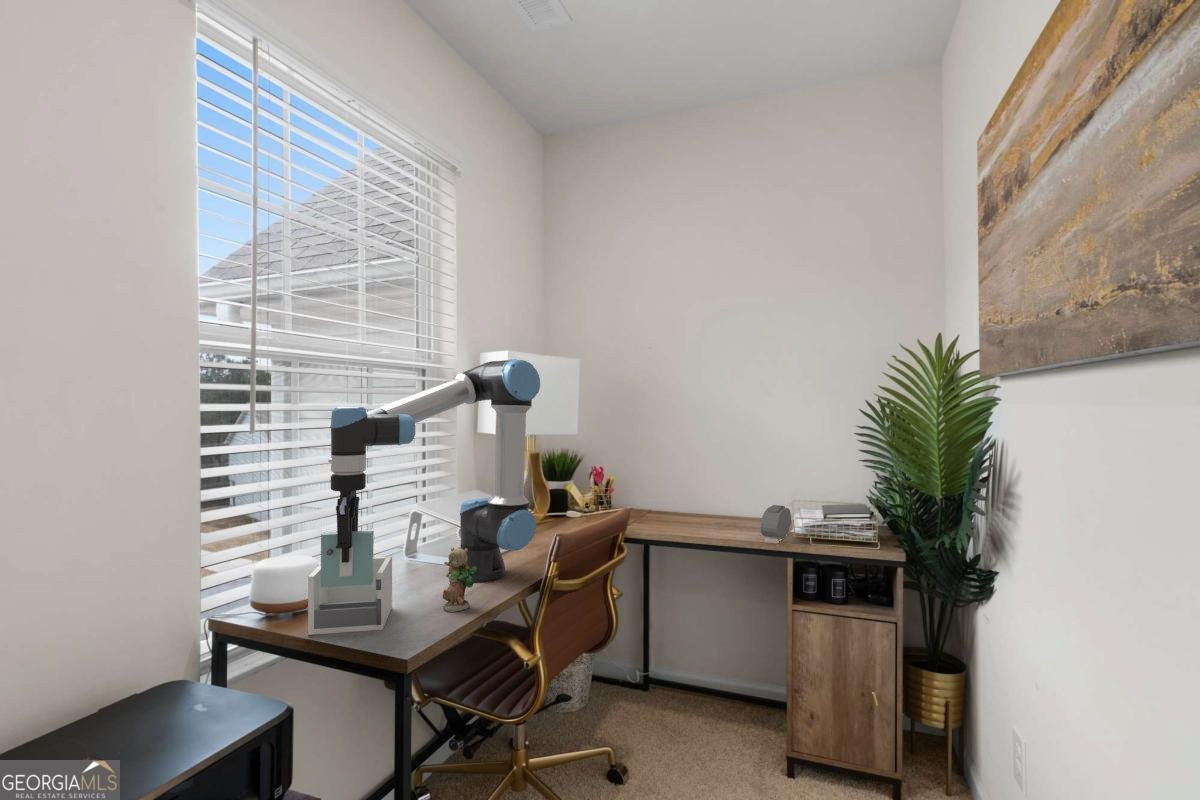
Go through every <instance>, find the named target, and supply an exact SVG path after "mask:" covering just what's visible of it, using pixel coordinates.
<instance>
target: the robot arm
mask: <svg viewBox="0 0 1200 800" xmlns="http://www.w3.org/2000/svg"><path fill="white" fill-rule="evenodd" d="M540 388H541V378H540V374H539V372H538V370H537V369H536V368H535V367H534V365H533V364H532V363H531V362H529V361H527V360H524V359H512V358H511V359H506V360H490V361H487V362H484V363H482V364H480V365H477V366H475V367H472V368H470V369H468V370H465V371H463V372H460V373H459V374H457V375H456V376H455V378H454V379H452V380H449V381H447V382H444V383H441V384H439V385H436V386H432V387H431V388H427V389H425V390H422V391H420V392H417V393H415V394H412V395H410V396H407V397H404V398H401V399H399V400H396V401H393V402H391V403H388V404H386V405H383V406H381V407H379V408H375V409H371V410H370V411H367V409H366V407H364V406H336V407H334V408H333V409H332V411H331V415H330V416H331V417H330V450H331V451H330V458H328V463H330V472H331V473H332V474H331V475H330V490H331V491H333V492H339V493H340V494H339V498H337V503H336V504H337V505H335V506H336V507H335V512H336V530H337V531H336V532H337V546H336V549H337V548H340V576H352V575H353V547H351V546H352V531H359V509H360V508H359V506H360V505H359V503H360V497H359V496H357V492H358V491H363V490H364V489H366V486H367V485H366V478H367V477H366V473H365V471H366V470H367V451H366V450H367V447H375V446H376V447H377V446H379V447H381V446H401V445H408V444H410V443H412V442H413V441H414V439H415V436H416V423H419V422H422V421H424V420H427V419H430V418H432V417H434V416H437V415H439V414H441V413H444V412H446V411H449V410H451V409H453V408H456V407H458V406H461V405H464V404H466V405H473V404H475V403H477V402H482V401H490V407H492V409H493V410H494V411H495V440H494V441H495V442H494V444H495V445H494V469H493V471H494V472H493V495H492V496H491V497H486V498H485V497H483V498H474V499H473V498H472V499H467V500H464V501H463V502H461V504H460V512H459V516H460V548H462V549H463V550H465V548H466V549H468V551H467V556H468V560H467V564H468V567H469V569H471V568H472V567H477V568H478V570H477V573H475V574H474V575H473V576H472V578H473V582H474V583H478V582H479V583H481V582H488V581H489V582H490V581H494V580H497V579H500V578H502V577H504V576H505V574H506V564H505V561H504V558H503V556H502V552H501V549H502V550H505V551H514V552H515V551H520V550H522V549H524V548H525V547H527V545H529V543H530V542H531V541H532V539H533V538H534V536H535V534H536V531H537V530H536V529H537V522H536V518H535V516H534V515H533V513H532V512H531V511H529V508H530V507H529V505H530V503H529V502H530V501H529V500H528V498H526V497H525V494H524V492H525V466H526V465H525V457H526V427H527V426H526V423H527V412H528V411H529V410H530V409H531V408H532V405H533V403H532V401H533V399H535V398H536V397H537V394H539V391H540ZM469 569H468V570H469Z"/></svg>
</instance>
